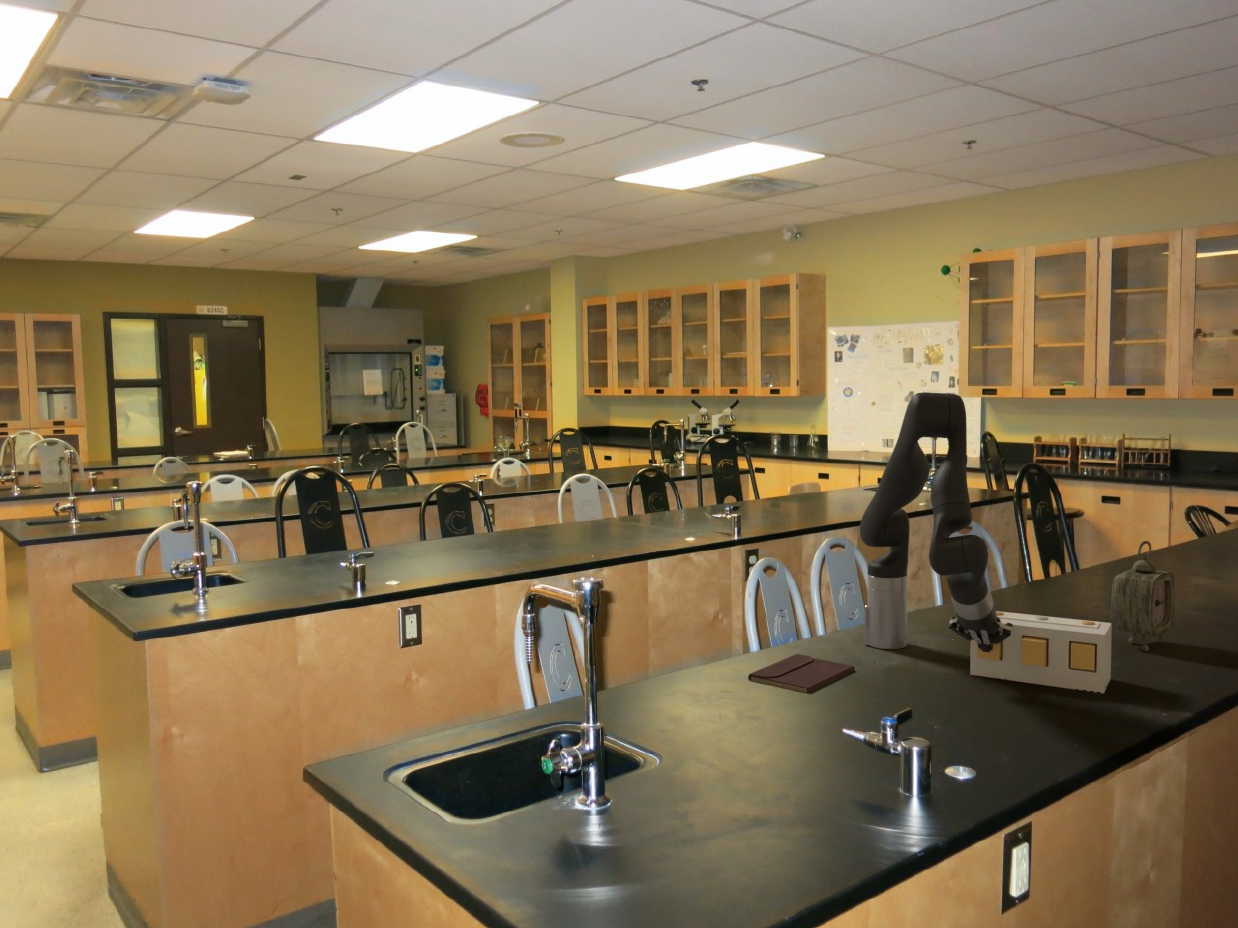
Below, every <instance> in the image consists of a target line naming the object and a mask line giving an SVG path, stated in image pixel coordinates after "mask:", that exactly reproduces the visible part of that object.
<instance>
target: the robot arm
mask: <svg viewBox="0 0 1238 928" xmlns="http://www.w3.org/2000/svg"><path fill="white" fill-rule="evenodd" d="M904 413H905V414H904V416H903V420H902V424H901V427H900V431H899V434H898V437H897V441H896V443H895V445H894V448H893V451H892V453H891V455H890V457H889V459H888V461H887V462H886V466H885V468H884V471H883V473H882V476H881V479H880V482H879V484H878V487H877V488H876V492H875V493H874V495H873V496H872V498H871V500H870V502H869V503H868V505H867V506H866V508H865V511H864V513H862V517H861V520H860V524H859V535H860V539H861V541H862V543H864V545H866V546H868V547H870V548H871V547H873V548H889V549H888V551H886V553H885V554H883V555H882V556H880V557H877V558H874V559H872V560H871V561H869V562H868V564H867V570H866V571H867V604H866V605H865V606H864V645H865V646H870V647H873V648H875V649H882V650H898V649H900V650H901V649H903V648H906V647H907V646H908V567H909V546H910V545H909V544H910V533H911V531H910V530H911V529H910V528H911V526H910V519H909V515H908V513H907V512H906V510H905V509H903V508H904V507H906V506H907V505H909V504H910V503H912V502H913V501H914V500H915V499H917V498H918V497H919V496H920V494H921V493H922V491H923V490H924V487H925V485H926V483H927V481H928V479H929V476H930V472H931V470H930V464H929V460H928V458H927V456H926V454H925V453H924V450H923V449H922V448H921V446H920V444H919V441H920V439H921V438H939V439H947V442H948V444H947V445H948V448H947V453H946V455H945V457H944V459H943V460H942V461H943V462H941V465H940V466H939V468H938V470H937V471H936V473H935V475H934V477H933V479H932V482H931V486H930V499H931V507H932V513H933V516H932V517H933V530H932V537H931V541H930V546H929V553H928V561H929V565H930V567H931V569H932V570H933V572H935V573H936V574H937V575H940V576H946V583H947V586H948V588H949V593H950V596H951V603H952V606H953V609H954V612H955V614H956V617H955V616H950V618H949V622H948V629H949V630H951V631H953V632H954V633H956V634H957V635H958V636H960V637H962V638H963V639H965V640H966V641H969V642H970V641H971V640H972V639H973V640H975V642H976V643H977V644H978V648H979V649H982V652H989V653H990V650H991V651H992V650H993V645H994V644H998V643H1000V642H1001V641H1003V640H1004V639H1006V638H1008V637H1009V636H1011V631H1012V626H1013V624H1011V623H1006V624H1003V623H1001V620H1000V619H999V618H998V617H997V615H996V611H997V610H996V607H995V603H994V600H993V597H992V593H991V591H990V588H989V586H988V584H987V580H986V575H985V574H986V570H987V566H988V560H989V548H988V546H987V543H986V541H985V540H984V539H983V538H982V537H980V536H979V535H977V534H965V535H958V536H951V535H953V534H955V533H957V532H959V531H962V530H965V529H966V528H968V527H970V525H971V524H972V522H973V514H972V507H971V501H970V495H969V487H968V479H967V473H968V470H967V466H968V465H967V460H968V459H967V457H968V455H967V453H968V450H967V449H968V448H967V447H968V446H967V444H968V443H967V442H968V441H967V440H968V439H967V434H968V433H967V430H968V429H967V411H966V404H965V402H964V399H963V398H962V397H961V396H960V395H958V394H956V393H948V392H946V393H945V392H944V393H943V392H928V391H927V392H925V391H924V392H917V393H915V394H914V395H912V397H911V398H910V400H909V401H908V404H907V406H906V411H905V412H904ZM998 628H999V629H998ZM965 631H966V632H967V633H966V632H965ZM993 632H994V633H993Z"/></svg>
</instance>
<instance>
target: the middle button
mask: <svg viewBox="0 0 1238 928" xmlns="http://www.w3.org/2000/svg"><path fill="white" fill-rule="evenodd" d="M1022 664H1025V665H1033V666H1041V667H1045V666H1046V664H1047V639H1044V638H1036V637H1027V636H1025V637H1024V638H1023V639H1022Z"/></svg>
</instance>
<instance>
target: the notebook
mask: <svg viewBox="0 0 1238 928" xmlns="http://www.w3.org/2000/svg"><path fill="white" fill-rule="evenodd" d="M855 670H856V669H855V666H854V665H851V664H847V663H841V662H836V661H831V660H825V659H820V658H815V657H812V656H810V655H806V654H800V653H796V654H793V655H791V656H788V657H785V658H784V659H781V660H779V661H776V662H774V663H772V664H770V665H767V666H765V667H762V668H760V669H758V670H755V671H753V672H751V673H749V674H748V677H747V678H748V681H752V682H756V683H760V684H765V685H771V686H774V687H780V688H783V689H784V688H785V689H789V690H793V691H797V692H801V693H806V694H812V693H813V692H815V691H817V690H819V689H822V688H823V687H824V686H827V685H829V684H831V683H833V682H835V681H837V680H839V679H841V678H843V677H845V676H847V675H849V674H851V673H853V672H855Z"/></svg>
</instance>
